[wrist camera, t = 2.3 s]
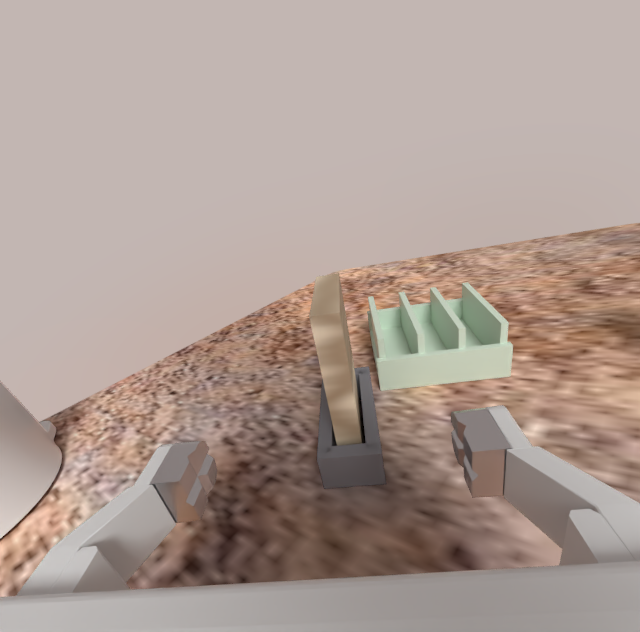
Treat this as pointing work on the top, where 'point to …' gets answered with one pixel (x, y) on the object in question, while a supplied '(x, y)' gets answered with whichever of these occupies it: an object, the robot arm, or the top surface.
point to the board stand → (355, 459)
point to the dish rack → (439, 341)
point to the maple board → (336, 359)
